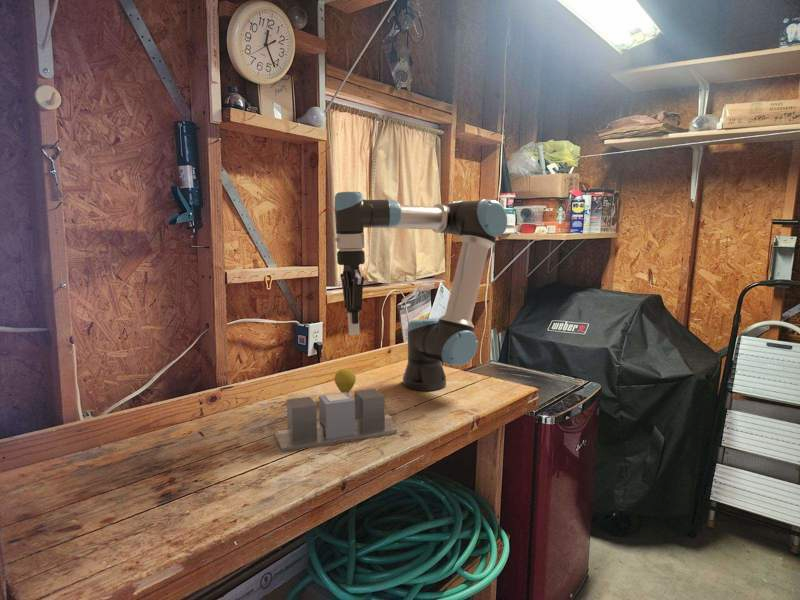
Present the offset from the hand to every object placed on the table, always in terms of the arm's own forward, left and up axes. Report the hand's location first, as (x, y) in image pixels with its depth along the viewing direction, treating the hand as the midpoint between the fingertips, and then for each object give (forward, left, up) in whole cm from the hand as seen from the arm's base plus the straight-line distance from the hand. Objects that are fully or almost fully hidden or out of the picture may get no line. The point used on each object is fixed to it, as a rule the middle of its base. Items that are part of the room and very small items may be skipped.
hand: (354, 334), depth 139 cm
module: (+8, +10, -23) cm, 27 cm away
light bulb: (-2, -16, -24) cm, 29 cm away
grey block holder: (+8, +10, -24) cm, 28 cm away
